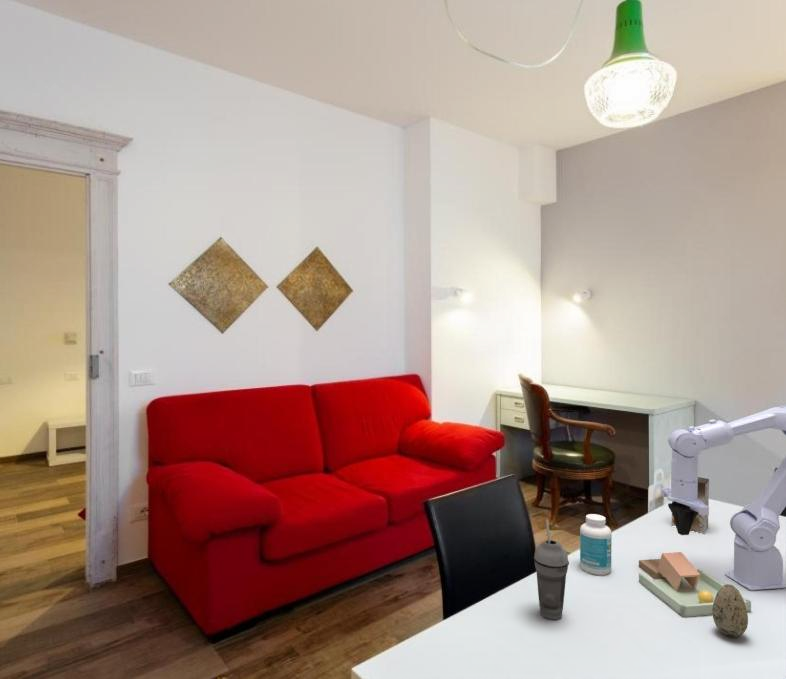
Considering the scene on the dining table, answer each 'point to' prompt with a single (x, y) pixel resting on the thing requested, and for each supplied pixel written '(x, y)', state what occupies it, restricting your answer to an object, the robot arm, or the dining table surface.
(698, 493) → the coffee box
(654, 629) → the dining table surface
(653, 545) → the dining table surface
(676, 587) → the brown u-shaped block
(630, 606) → the dining table surface
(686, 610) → the tray
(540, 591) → the beverage cup
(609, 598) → the dining table surface
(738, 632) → the decorative egg
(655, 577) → the coaster
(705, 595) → the ball
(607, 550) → the pill bottle
